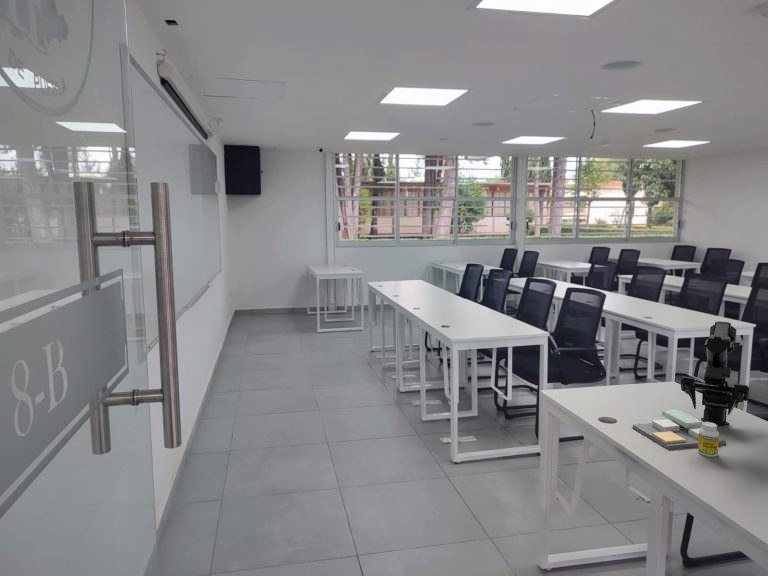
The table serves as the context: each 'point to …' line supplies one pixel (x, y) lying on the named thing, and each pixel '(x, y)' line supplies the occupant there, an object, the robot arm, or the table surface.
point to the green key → (682, 418)
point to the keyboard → (671, 434)
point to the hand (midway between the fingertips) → (711, 411)
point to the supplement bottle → (708, 439)
